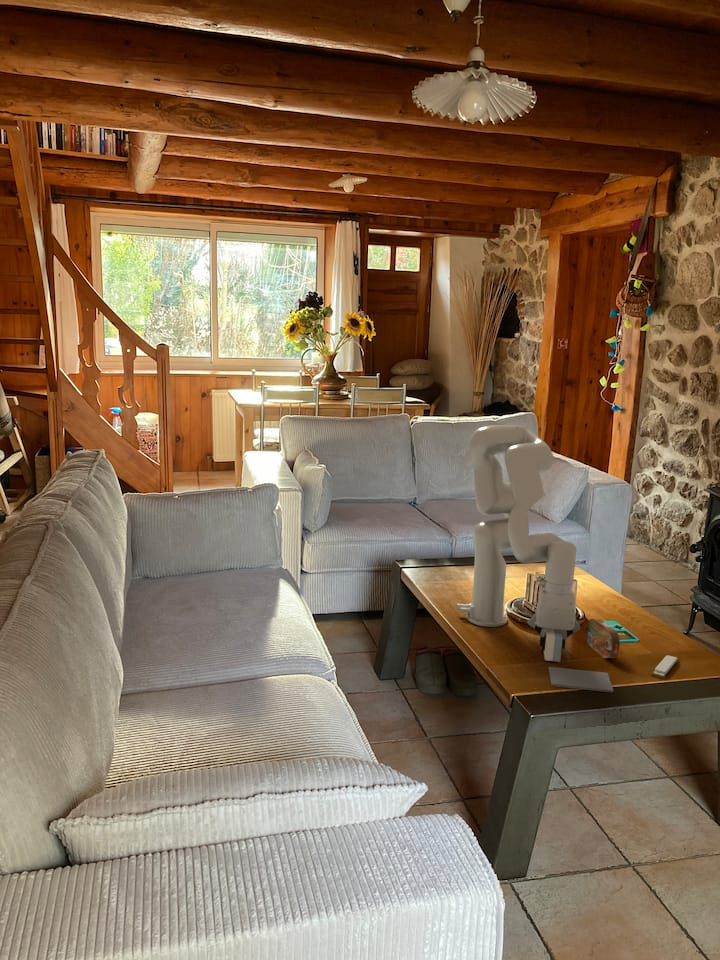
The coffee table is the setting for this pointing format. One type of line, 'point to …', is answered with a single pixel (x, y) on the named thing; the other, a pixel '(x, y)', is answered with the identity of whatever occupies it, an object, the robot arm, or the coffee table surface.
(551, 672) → the mat
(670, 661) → the harmonica
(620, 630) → the handheld gaming console
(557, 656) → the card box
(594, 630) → the tin
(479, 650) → the coffee table surface
